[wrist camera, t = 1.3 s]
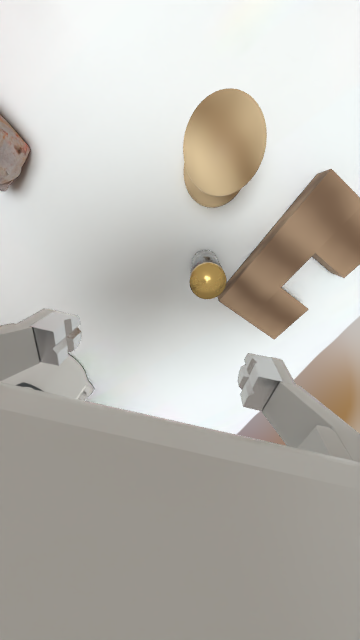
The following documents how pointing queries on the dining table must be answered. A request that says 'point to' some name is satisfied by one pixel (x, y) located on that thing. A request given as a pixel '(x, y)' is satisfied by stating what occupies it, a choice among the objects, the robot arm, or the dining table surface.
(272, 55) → the dining table surface
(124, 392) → the dining table surface
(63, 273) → the dining table surface
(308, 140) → the dining table surface
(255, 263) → the notch board
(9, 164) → the food item
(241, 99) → the tan spool
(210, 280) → the gold lidded spice jar
